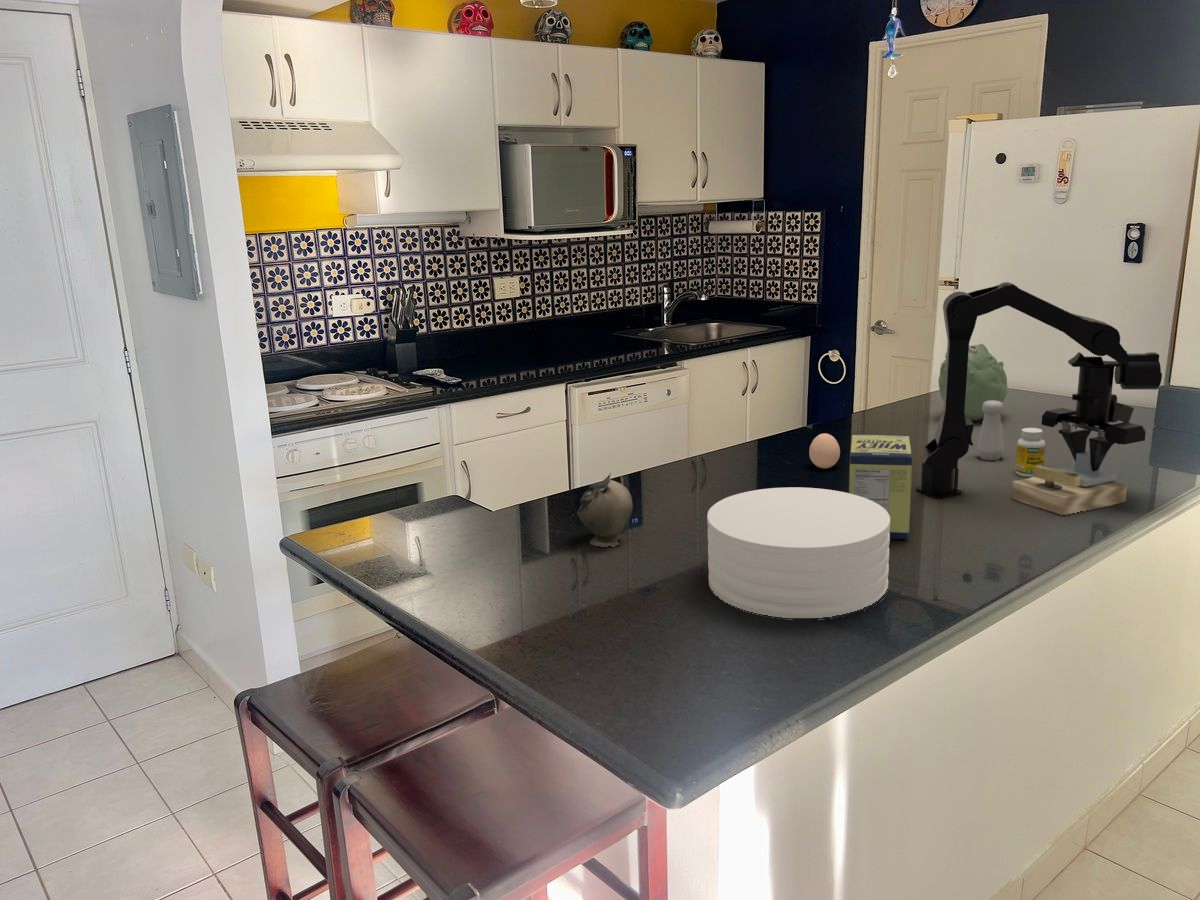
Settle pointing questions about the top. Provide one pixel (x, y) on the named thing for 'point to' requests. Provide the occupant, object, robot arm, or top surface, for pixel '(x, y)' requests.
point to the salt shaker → (991, 432)
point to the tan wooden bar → (1056, 476)
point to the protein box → (884, 476)
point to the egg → (824, 451)
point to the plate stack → (798, 552)
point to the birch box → (1067, 495)
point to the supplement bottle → (1030, 451)
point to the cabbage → (979, 381)
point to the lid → (1088, 471)
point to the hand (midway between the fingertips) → (1087, 468)
